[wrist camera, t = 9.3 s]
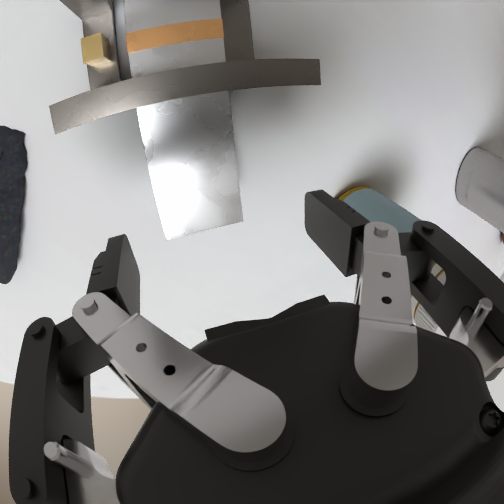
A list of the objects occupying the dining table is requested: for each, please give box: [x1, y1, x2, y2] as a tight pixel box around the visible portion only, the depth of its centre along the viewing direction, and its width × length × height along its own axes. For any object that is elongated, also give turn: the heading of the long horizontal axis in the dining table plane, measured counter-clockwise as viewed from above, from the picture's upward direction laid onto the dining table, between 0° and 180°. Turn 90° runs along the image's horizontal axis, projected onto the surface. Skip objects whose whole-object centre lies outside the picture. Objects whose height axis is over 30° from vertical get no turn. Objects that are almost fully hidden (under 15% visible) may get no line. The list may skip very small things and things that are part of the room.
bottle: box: [338, 186, 447, 337], centre depth 22 cm, size 7×7×15 cm
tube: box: [123, 0, 243, 240], centre depth 14 cm, size 20×5×5 cm, turn 4°
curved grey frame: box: [49, 0, 321, 134], centre depth 11 cm, size 11×8×10 cm
